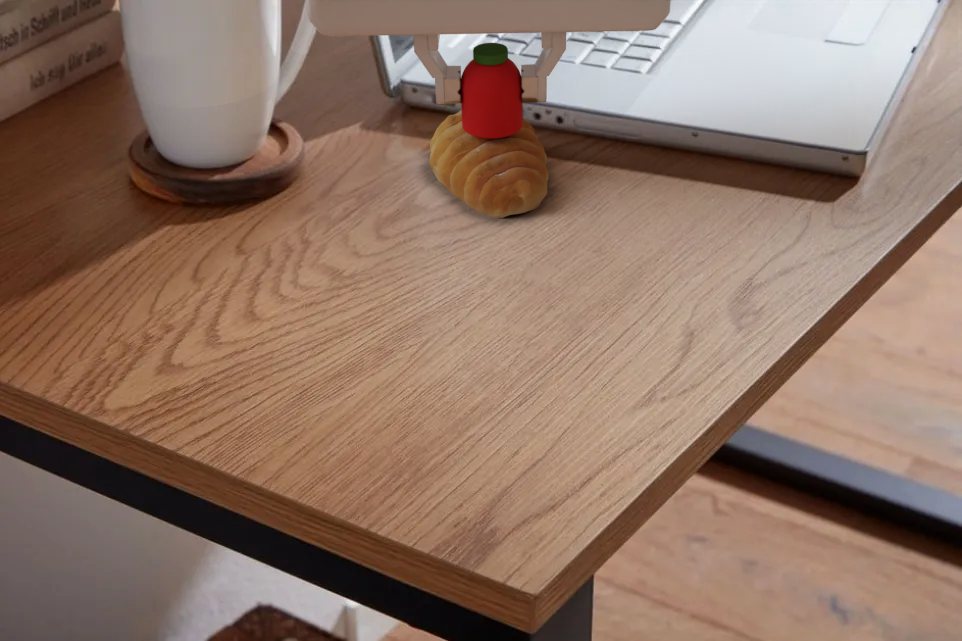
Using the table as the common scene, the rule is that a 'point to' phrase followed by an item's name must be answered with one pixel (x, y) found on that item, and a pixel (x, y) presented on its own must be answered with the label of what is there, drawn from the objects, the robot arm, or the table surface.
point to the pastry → (490, 168)
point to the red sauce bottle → (491, 93)
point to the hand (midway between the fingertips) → (490, 99)
